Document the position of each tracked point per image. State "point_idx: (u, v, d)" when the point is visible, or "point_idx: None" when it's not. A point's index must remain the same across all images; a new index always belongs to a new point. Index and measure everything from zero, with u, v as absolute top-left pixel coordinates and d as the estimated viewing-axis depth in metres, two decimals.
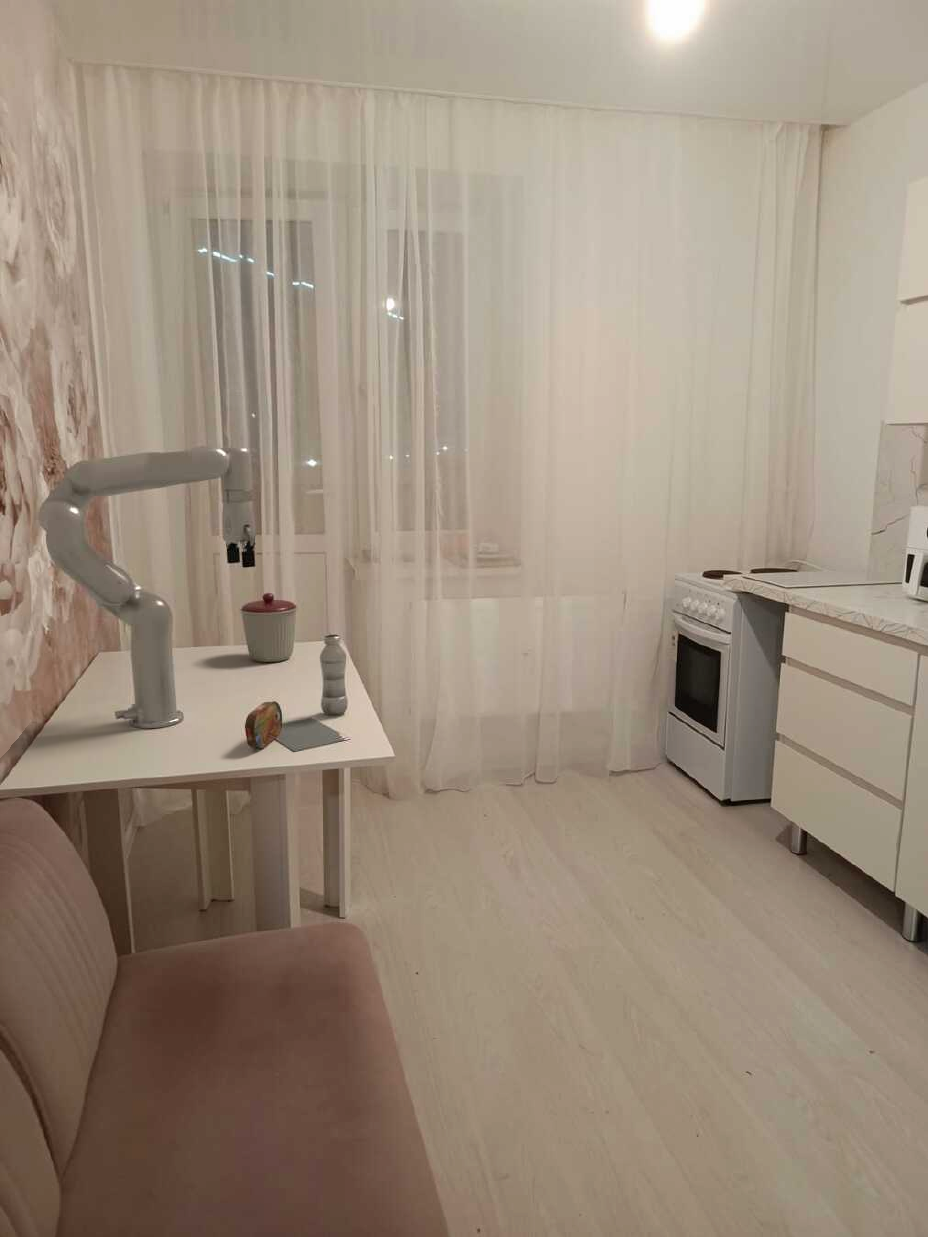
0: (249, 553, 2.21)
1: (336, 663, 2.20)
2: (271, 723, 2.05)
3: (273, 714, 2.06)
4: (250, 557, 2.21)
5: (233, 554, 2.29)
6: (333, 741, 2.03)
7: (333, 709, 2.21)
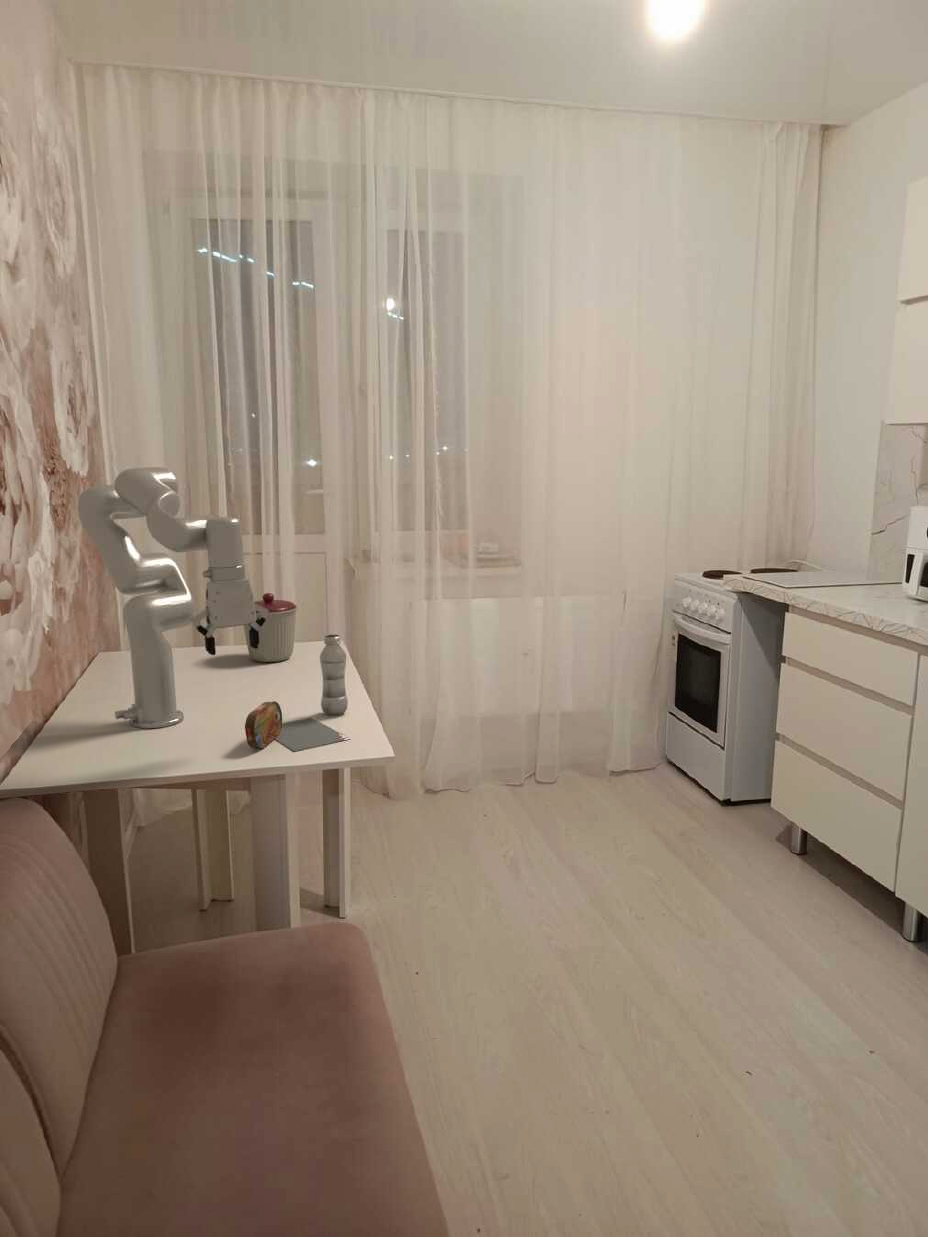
0: None
1: (336, 663, 2.20)
2: (271, 723, 2.05)
3: (273, 714, 2.06)
4: None
5: None
6: (333, 741, 2.03)
7: (333, 709, 2.21)
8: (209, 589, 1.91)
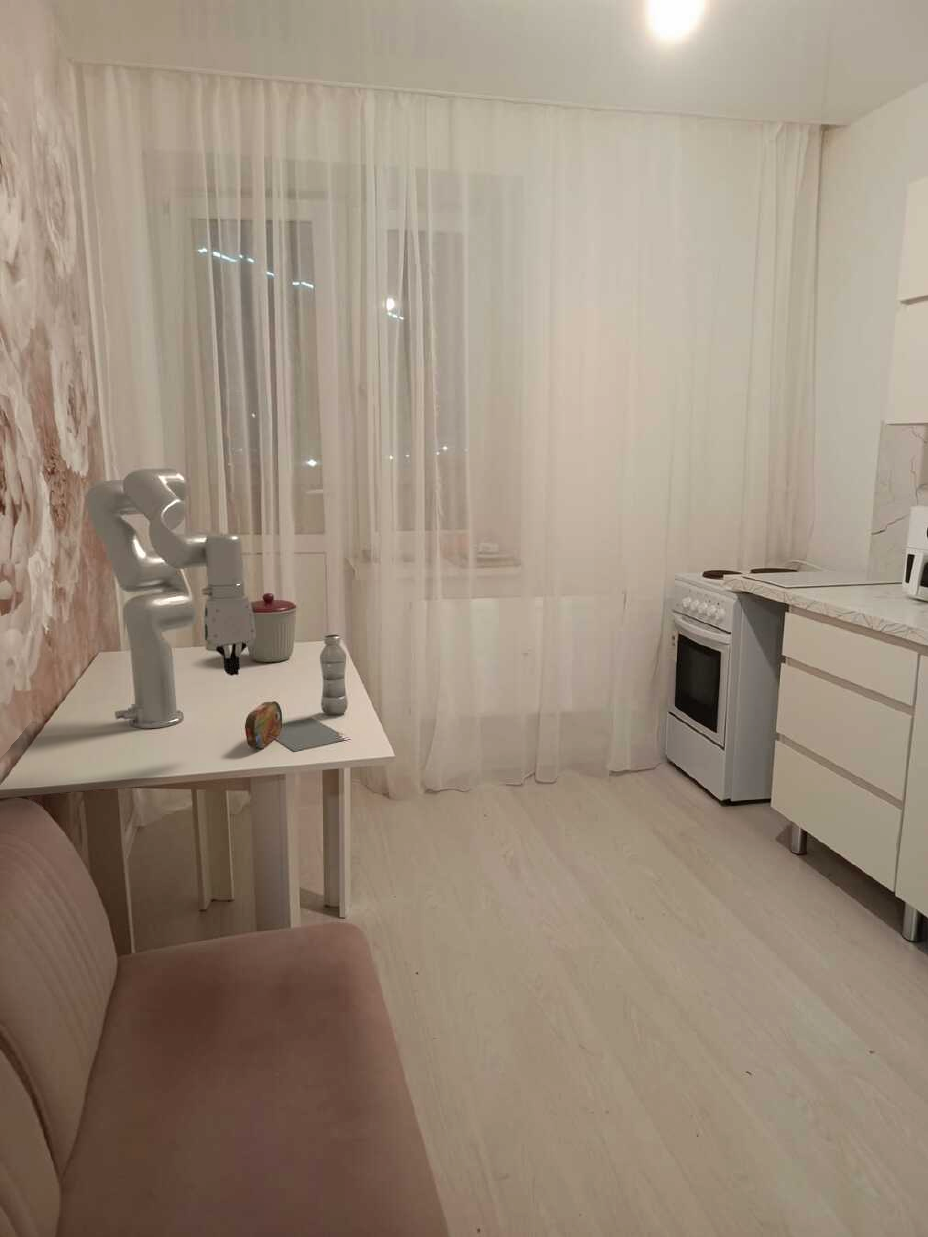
0: None
1: (336, 663, 2.20)
2: (271, 723, 2.05)
3: (273, 714, 2.06)
4: None
5: None
6: (333, 741, 2.03)
7: (333, 709, 2.21)
8: (208, 607, 1.90)
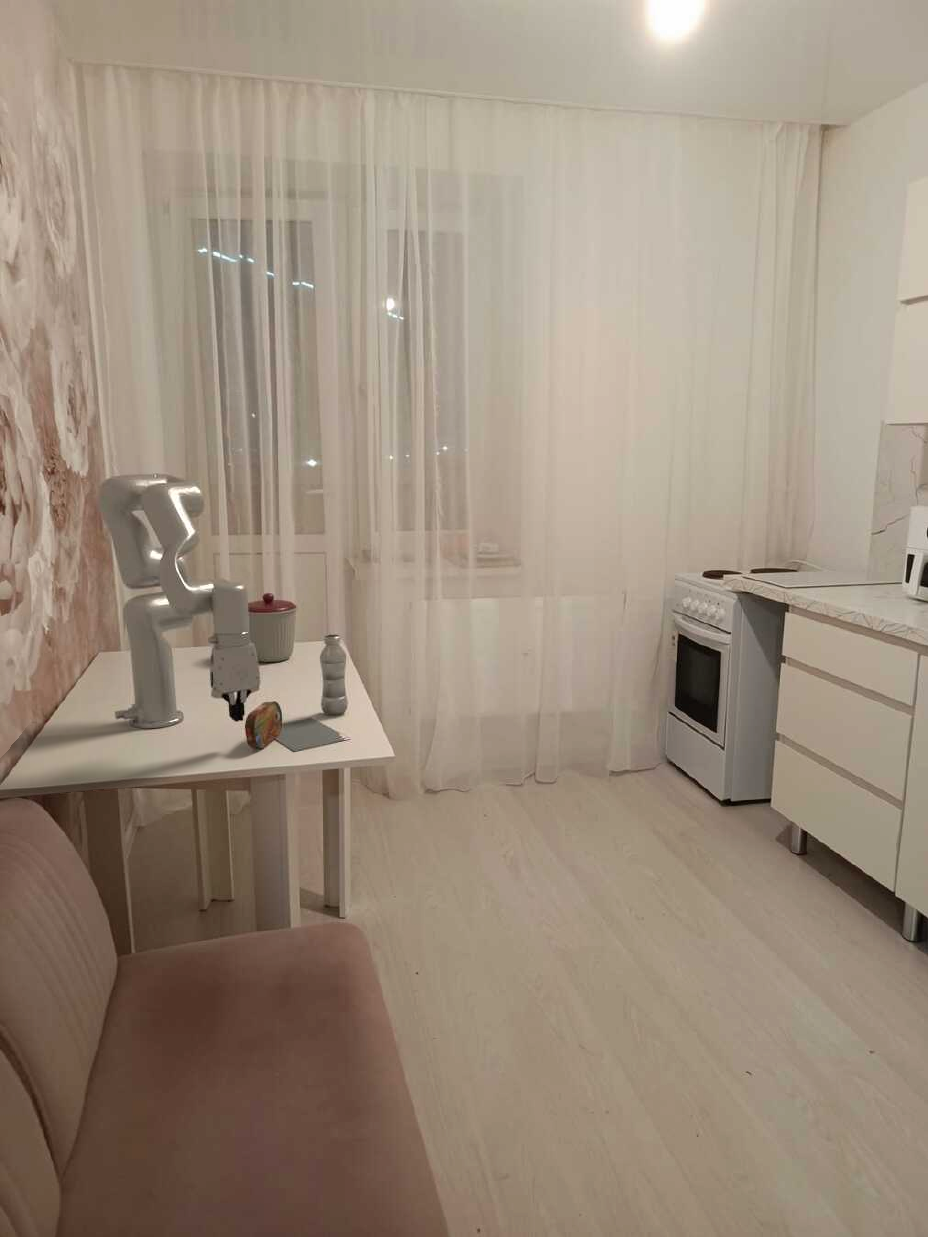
0: None
1: (336, 663, 2.20)
2: (271, 723, 2.05)
3: (273, 714, 2.06)
4: None
5: None
6: (333, 741, 2.03)
7: (333, 709, 2.21)
8: (214, 655, 1.92)
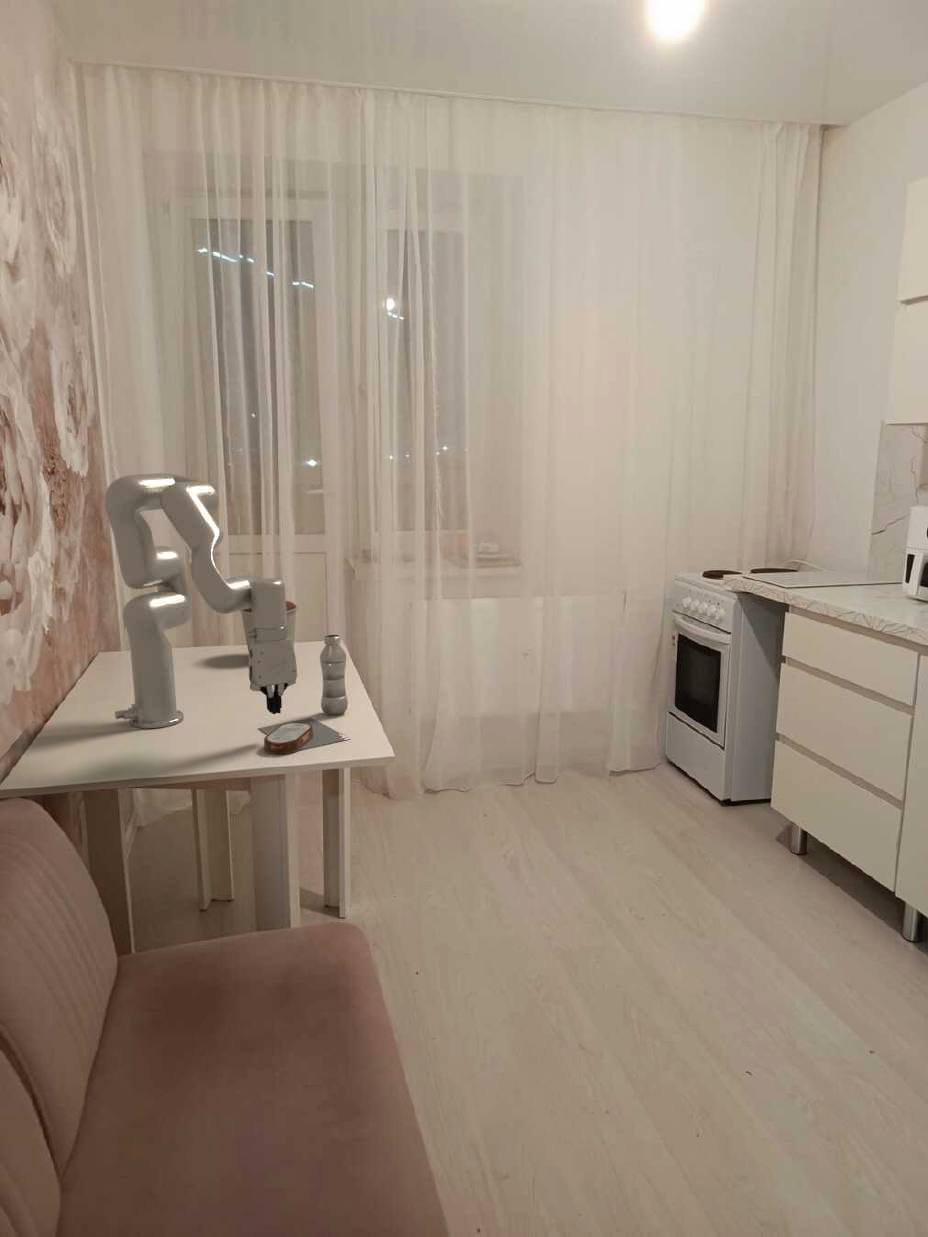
0: None
1: (336, 663, 2.20)
2: None
3: None
4: None
5: None
6: (333, 741, 2.03)
7: (333, 709, 2.21)
8: (253, 649, 1.97)
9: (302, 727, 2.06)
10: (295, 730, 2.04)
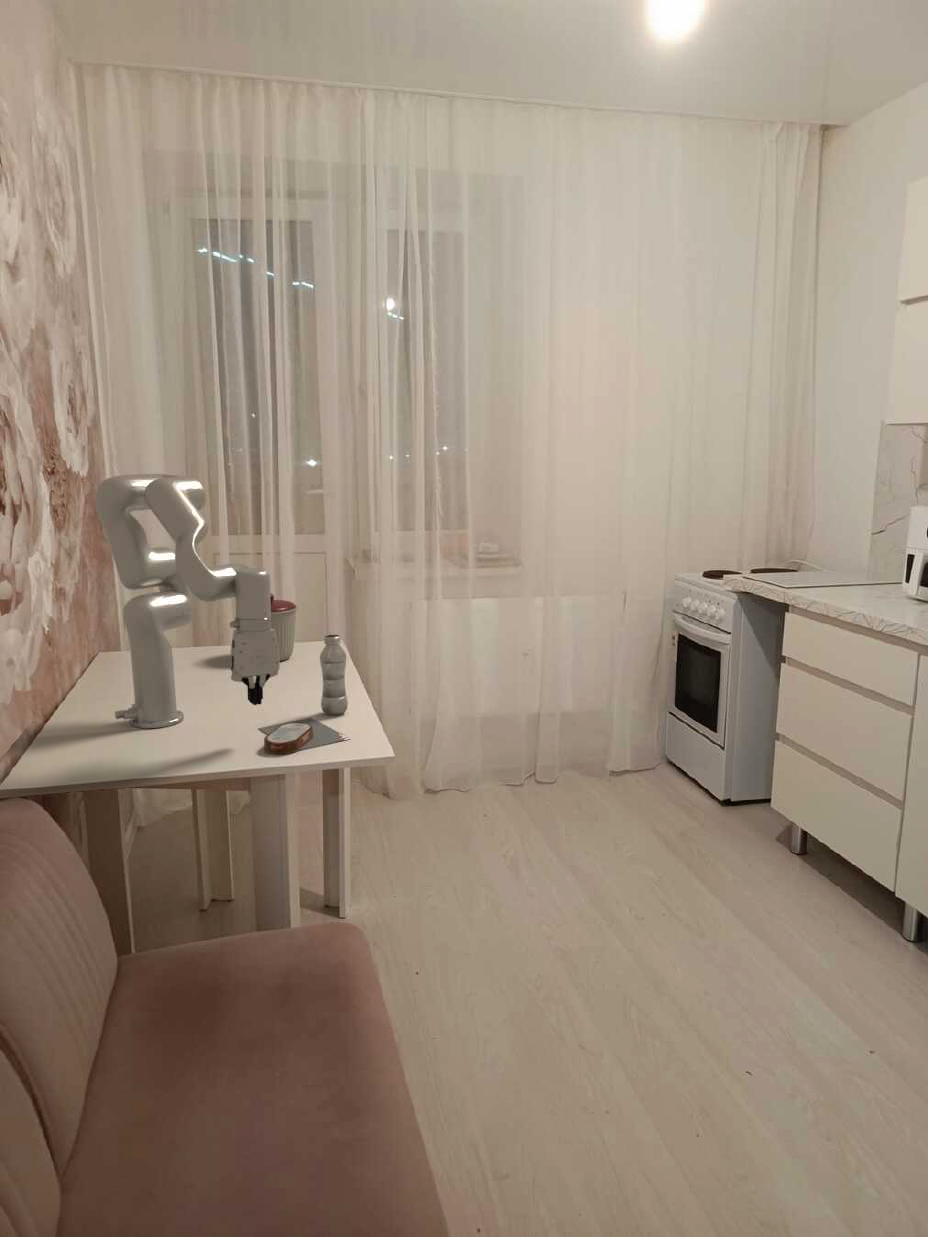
0: None
1: (336, 663, 2.20)
2: None
3: None
4: None
5: None
6: (333, 741, 2.03)
7: (333, 709, 2.21)
8: (236, 639, 1.95)
9: (302, 727, 2.06)
10: (295, 730, 2.04)
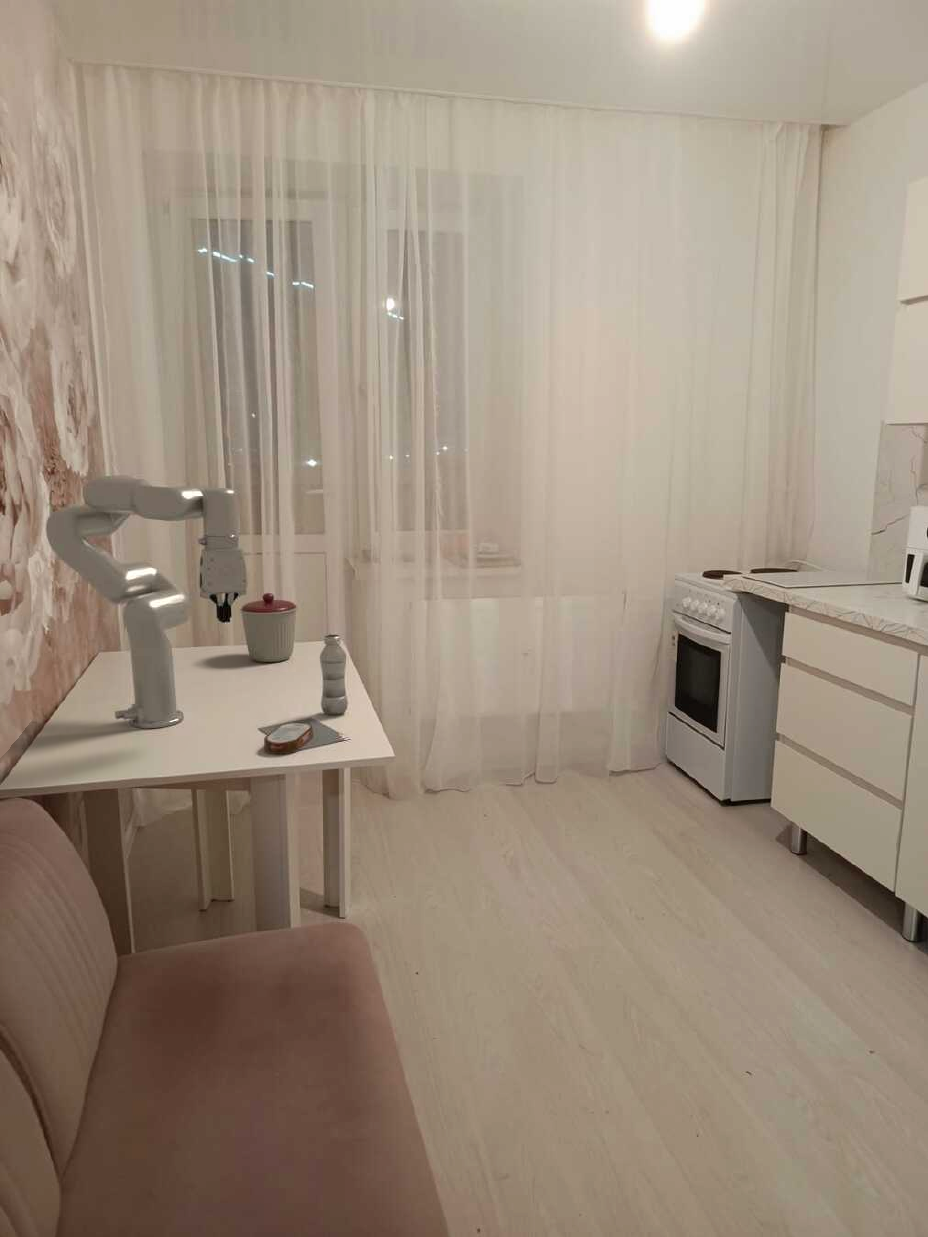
0: None
1: (336, 663, 2.20)
2: None
3: None
4: None
5: None
6: (333, 741, 2.03)
7: (333, 709, 2.21)
8: (203, 556, 2.00)
9: (302, 727, 2.06)
10: (295, 730, 2.04)
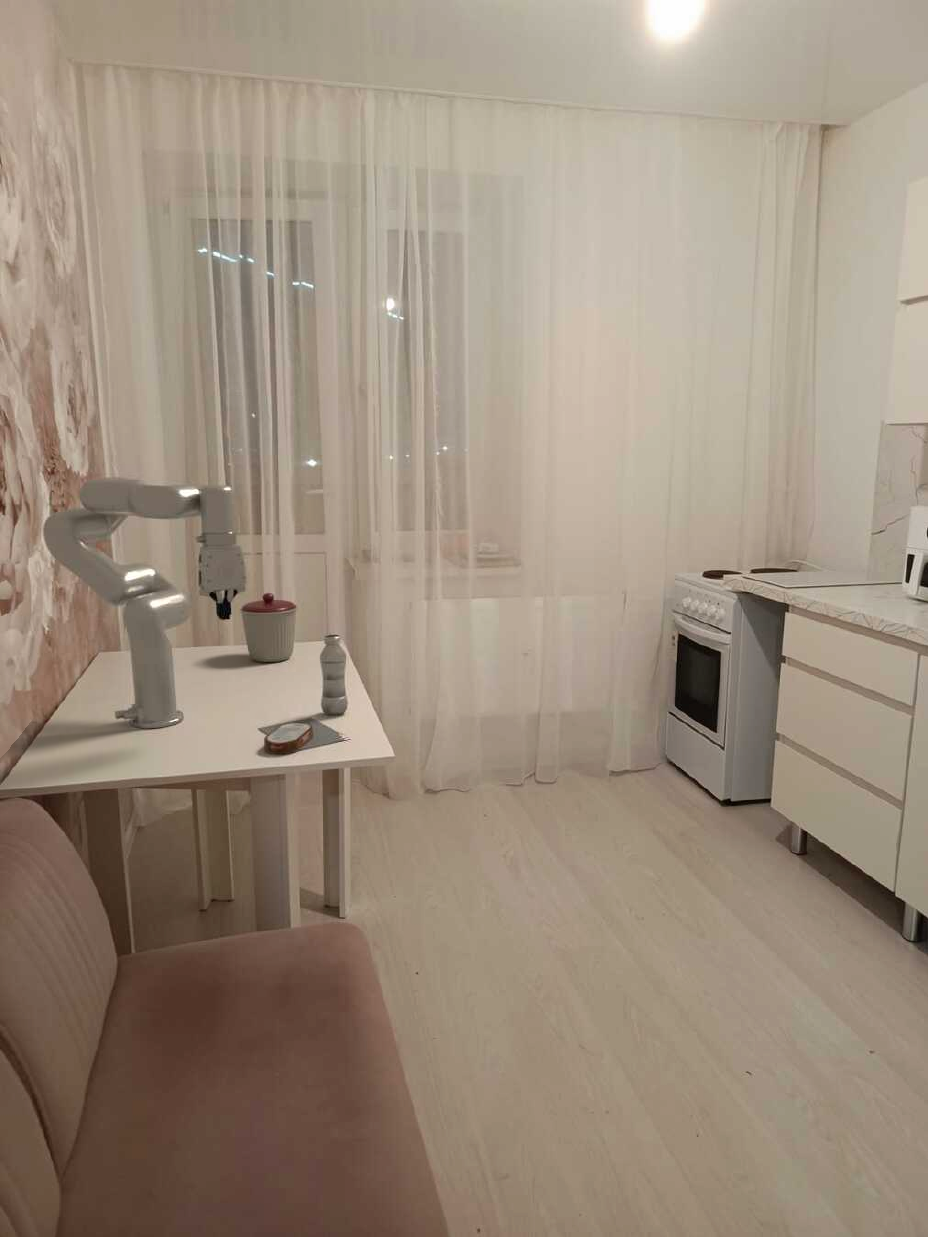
0: None
1: (336, 663, 2.20)
2: None
3: None
4: None
5: None
6: (333, 741, 2.03)
7: (333, 709, 2.21)
8: (202, 554, 2.00)
9: (302, 727, 2.06)
10: (295, 730, 2.04)
